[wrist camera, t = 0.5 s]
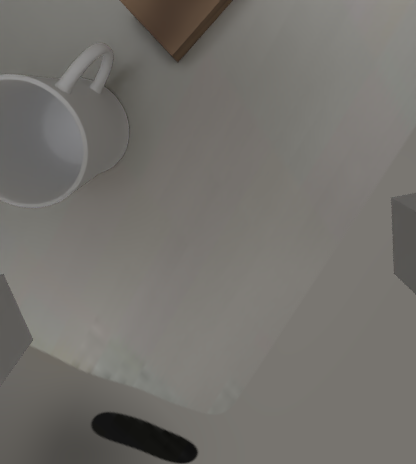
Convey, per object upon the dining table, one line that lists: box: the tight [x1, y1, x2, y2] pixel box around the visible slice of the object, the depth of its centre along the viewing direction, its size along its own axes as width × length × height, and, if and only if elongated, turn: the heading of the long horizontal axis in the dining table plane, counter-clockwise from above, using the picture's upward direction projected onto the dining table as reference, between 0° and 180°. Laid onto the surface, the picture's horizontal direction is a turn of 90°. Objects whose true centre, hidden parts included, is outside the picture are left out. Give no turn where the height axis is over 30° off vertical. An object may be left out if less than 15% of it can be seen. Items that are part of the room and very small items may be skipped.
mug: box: [0, 42, 129, 208], centre depth 28 cm, size 12×8×12 cm
